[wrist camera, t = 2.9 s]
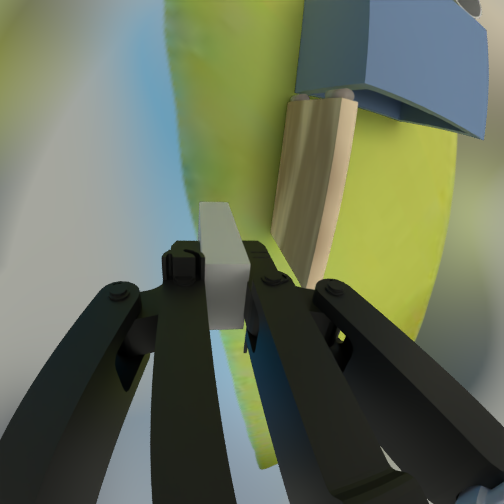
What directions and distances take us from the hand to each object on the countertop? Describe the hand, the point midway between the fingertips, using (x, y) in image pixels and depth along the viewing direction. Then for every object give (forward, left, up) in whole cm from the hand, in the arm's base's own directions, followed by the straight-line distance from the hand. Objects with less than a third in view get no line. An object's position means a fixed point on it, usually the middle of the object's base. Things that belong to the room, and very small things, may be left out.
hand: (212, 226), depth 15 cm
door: (-1, +8, -13) cm, 15 cm away
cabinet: (-15, +15, -14) cm, 26 cm away
